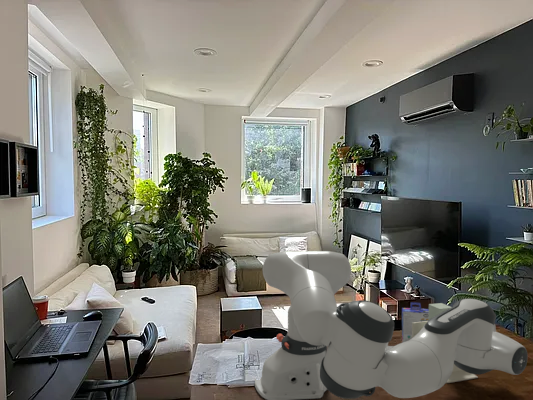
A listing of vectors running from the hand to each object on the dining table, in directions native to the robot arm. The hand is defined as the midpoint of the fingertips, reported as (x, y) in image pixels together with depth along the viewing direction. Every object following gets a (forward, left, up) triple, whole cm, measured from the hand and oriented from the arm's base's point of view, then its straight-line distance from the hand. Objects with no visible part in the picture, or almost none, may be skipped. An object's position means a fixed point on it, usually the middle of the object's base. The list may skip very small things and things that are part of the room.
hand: (438, 321), depth 125 cm
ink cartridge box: (+5, +17, -14) cm, 23 cm away
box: (0, -1, -8) cm, 8 cm away
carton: (0, -3, -14) cm, 14 cm away
